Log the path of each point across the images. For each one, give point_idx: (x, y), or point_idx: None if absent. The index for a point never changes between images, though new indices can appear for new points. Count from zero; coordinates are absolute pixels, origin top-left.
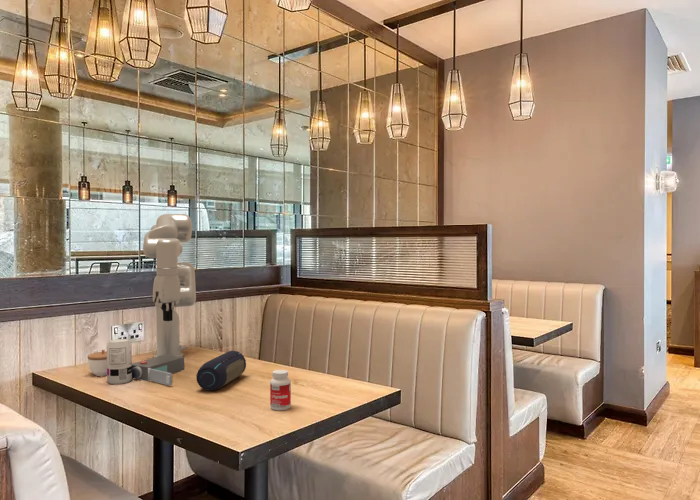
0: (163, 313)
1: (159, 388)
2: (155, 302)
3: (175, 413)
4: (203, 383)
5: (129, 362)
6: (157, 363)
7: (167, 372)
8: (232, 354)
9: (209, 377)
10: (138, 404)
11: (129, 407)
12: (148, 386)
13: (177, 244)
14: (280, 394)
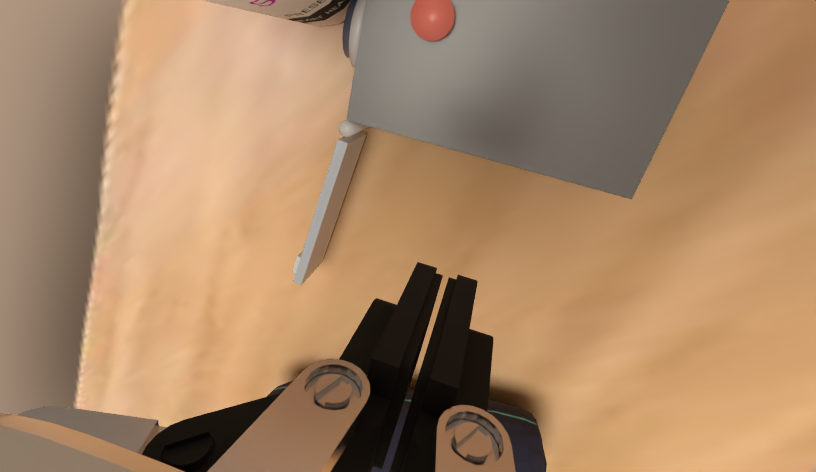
0: (347, 348)
1: (289, 225)
2: (2, 433)
3: (130, 372)
4: None
5: (280, 15)
6: (441, 119)
7: (308, 259)
8: None
9: None
10: (133, 249)
11: (103, 238)
12: (298, 165)
13: None
14: None
